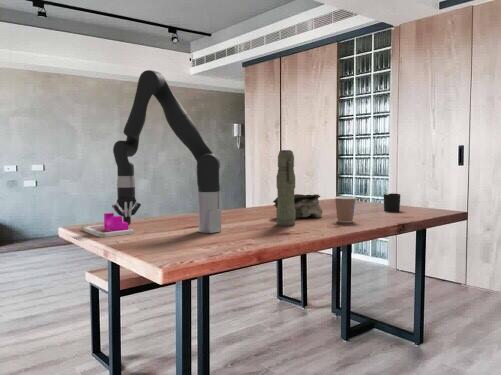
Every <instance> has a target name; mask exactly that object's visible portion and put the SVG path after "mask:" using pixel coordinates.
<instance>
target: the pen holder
mask: <svg viewBox="0 0 501 375" xmlns="http://www.w3.org/2000/svg"><path fill="white" fill-rule="evenodd" d="M383 210H384V212H390V213H392V212H393V213H397V212H399V211H400V210H401V194H400V193H388V194H387V193H383Z"/></svg>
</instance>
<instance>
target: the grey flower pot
mask: <svg viewBox="0 0 501 375" xmlns="http://www.w3.org/2000/svg"><path fill="white" fill-rule="evenodd" d="M334 198H335V200H334V201H335V208H336V219H337V221H338V222H339V223H352V222H353V220H354V213H355V212H354V211H355V206H356V199H357V197H356V196H344V195H342V196H341V195H340V196H334Z"/></svg>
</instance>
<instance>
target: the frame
mask: <svg viewBox="0 0 501 375" xmlns="http://www.w3.org/2000/svg"><path fill="white" fill-rule="evenodd" d="M102 229H103V230H104V224H99V225H87V226H81V231H82V232H85V233H88V234H90V235H93V236H96V237H97V238H101V239H102V238H108V237H110V238H111V237H115V236H117V237H118V236H125V235H134V234H135V230H134V229H132V228H131V229H128V230H123V231H114V232H108V231H106V232H103V231H100V230H102Z"/></svg>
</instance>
